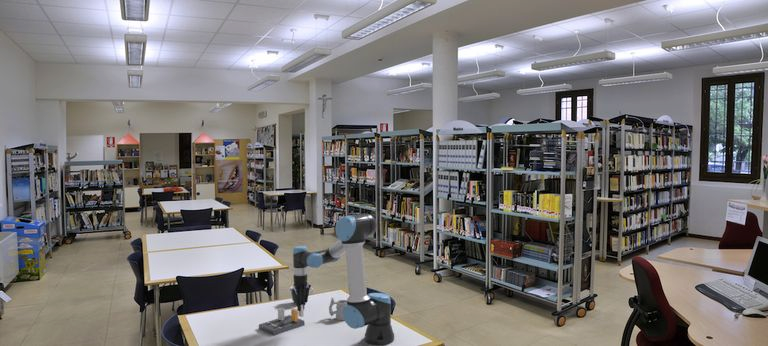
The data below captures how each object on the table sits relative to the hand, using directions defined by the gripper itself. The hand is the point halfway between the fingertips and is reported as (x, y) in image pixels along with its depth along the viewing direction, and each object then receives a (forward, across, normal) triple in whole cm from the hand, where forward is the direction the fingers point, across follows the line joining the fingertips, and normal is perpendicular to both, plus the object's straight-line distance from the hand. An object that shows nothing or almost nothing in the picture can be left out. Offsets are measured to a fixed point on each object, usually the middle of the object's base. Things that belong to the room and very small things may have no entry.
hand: (301, 316), depth 262 cm
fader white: (+2, +8, -7) cm, 11 cm away
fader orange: (+2, +4, 0) cm, 5 cm away
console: (+4, +10, -3) cm, 12 cm away
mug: (+5, -20, +9) cm, 22 cm away
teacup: (+5, -21, -29) cm, 36 cm away
